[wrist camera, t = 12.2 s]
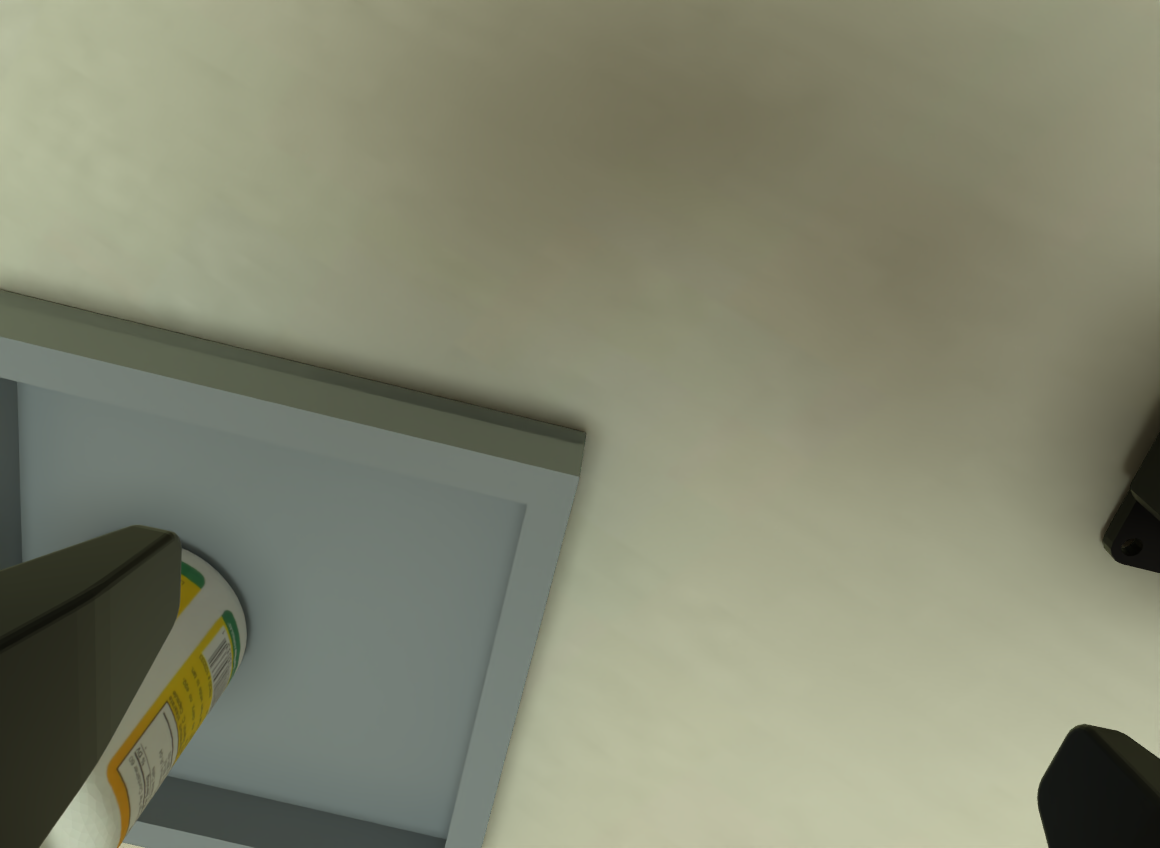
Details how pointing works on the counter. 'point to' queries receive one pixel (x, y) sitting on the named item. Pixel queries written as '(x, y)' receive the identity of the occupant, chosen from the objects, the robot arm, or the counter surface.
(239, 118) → the counter surface
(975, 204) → the counter surface
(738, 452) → the counter surface
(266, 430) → the tray
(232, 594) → the supplement bottle
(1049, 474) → the counter surface
